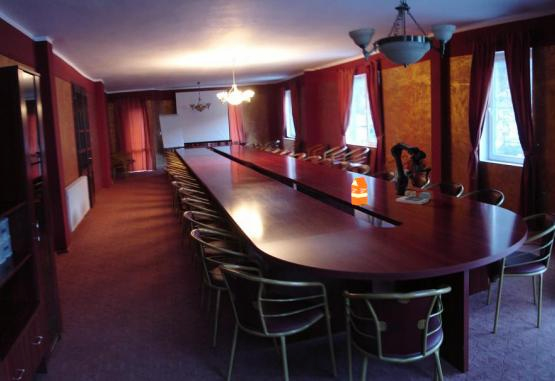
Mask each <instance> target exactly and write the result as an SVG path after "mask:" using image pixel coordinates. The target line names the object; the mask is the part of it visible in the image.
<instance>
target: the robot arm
mask: <svg viewBox="0 0 555 381" xmlns="http://www.w3.org/2000/svg"><path fill="white" fill-rule="evenodd" d="M403 151H406V152H407V154H408V155H411V156H410V157H409V159H410V160H411V161H412V162H411V163H412V167H413V170H409V171H407V172H406V173H405V174H404V170H405V169H404V165H403V160H402V155H403ZM390 153H391V156H392V157H393V158H394V161H395V167H396V170H397V171H398V178H397V182H396V184H395V183H394V188H395V187H397V189H396V193H395V195H396V196H405V192H406V191H408V189H406V187H408V183H409V184H410V180H411V182H412V183H413V184H416V182H415V177H414V175H416V174H421V173H424V178H425V182H426V183H428V180H429V174H430V173H431V172H432V171H433V169H432V167H427V165H426V163H425V162H424V163H421V161H423V160H425V159H426V158H427V154H426V152H425V151H423V150H421V149H420V148H419V147H418V146H411V145H410V144H407V143H405V142H404V141H402V142H401V141H400V142H397V143H396V144H395V145H393V146H392V147H391V148H390ZM408 177H409V179H410V180H409V179H408Z"/></svg>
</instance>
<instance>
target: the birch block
mask: <svg viewBox="0 0 555 381" xmlns="http://www.w3.org/2000/svg"><path fill="white" fill-rule="evenodd" d="M404 196H405V197H411V196H414V197H417V191H415V190H406V192H405V195H404Z"/></svg>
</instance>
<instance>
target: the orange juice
mask: <svg viewBox="0 0 555 381" xmlns="http://www.w3.org/2000/svg"><path fill="white" fill-rule="evenodd" d="M367 183H368V182H367V181H366V179H365V177H364V176H360V177H354V179H353V181H352V184H350V185H351V204H352V205H353V206H354V205H355V206H357V205H359V206H362V205H361V204H365V205H368V184H367Z"/></svg>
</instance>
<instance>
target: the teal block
mask: <svg viewBox="0 0 555 381" xmlns="http://www.w3.org/2000/svg"><path fill="white" fill-rule="evenodd" d="M418 197H423V199H428V201H429V200H431V199H432V198H431V192H427V191H422V192H419V196H418Z"/></svg>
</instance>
